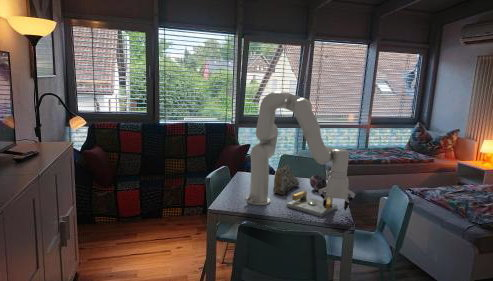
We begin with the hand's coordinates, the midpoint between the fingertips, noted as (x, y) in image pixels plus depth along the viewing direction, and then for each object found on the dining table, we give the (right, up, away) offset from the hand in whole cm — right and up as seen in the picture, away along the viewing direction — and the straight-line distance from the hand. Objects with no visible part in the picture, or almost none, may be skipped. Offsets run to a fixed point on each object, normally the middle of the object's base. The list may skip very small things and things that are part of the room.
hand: (334, 208), depth 164 cm
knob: (-2, 0, +4) cm, 5 cm away
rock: (-19, +3, +39) cm, 44 cm away
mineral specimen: (0, +3, +41) cm, 41 cm away
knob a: (-15, +2, +14) cm, 21 cm away
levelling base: (-10, -2, +9) cm, 13 cm away
